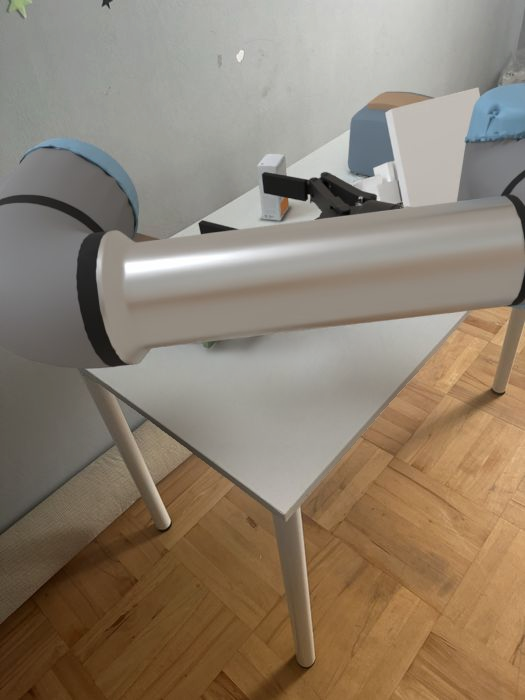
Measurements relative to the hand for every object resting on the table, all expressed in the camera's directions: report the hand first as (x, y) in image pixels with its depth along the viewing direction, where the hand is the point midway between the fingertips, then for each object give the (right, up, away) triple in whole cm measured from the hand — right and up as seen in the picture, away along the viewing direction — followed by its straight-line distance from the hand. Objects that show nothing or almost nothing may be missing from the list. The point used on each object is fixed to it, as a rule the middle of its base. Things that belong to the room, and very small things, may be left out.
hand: (234, 205), depth 64 cm
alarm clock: (+34, +25, +55) cm, 70 cm away
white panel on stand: (+34, +8, +38) cm, 52 cm away
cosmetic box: (+7, +11, +45) cm, 47 cm away
